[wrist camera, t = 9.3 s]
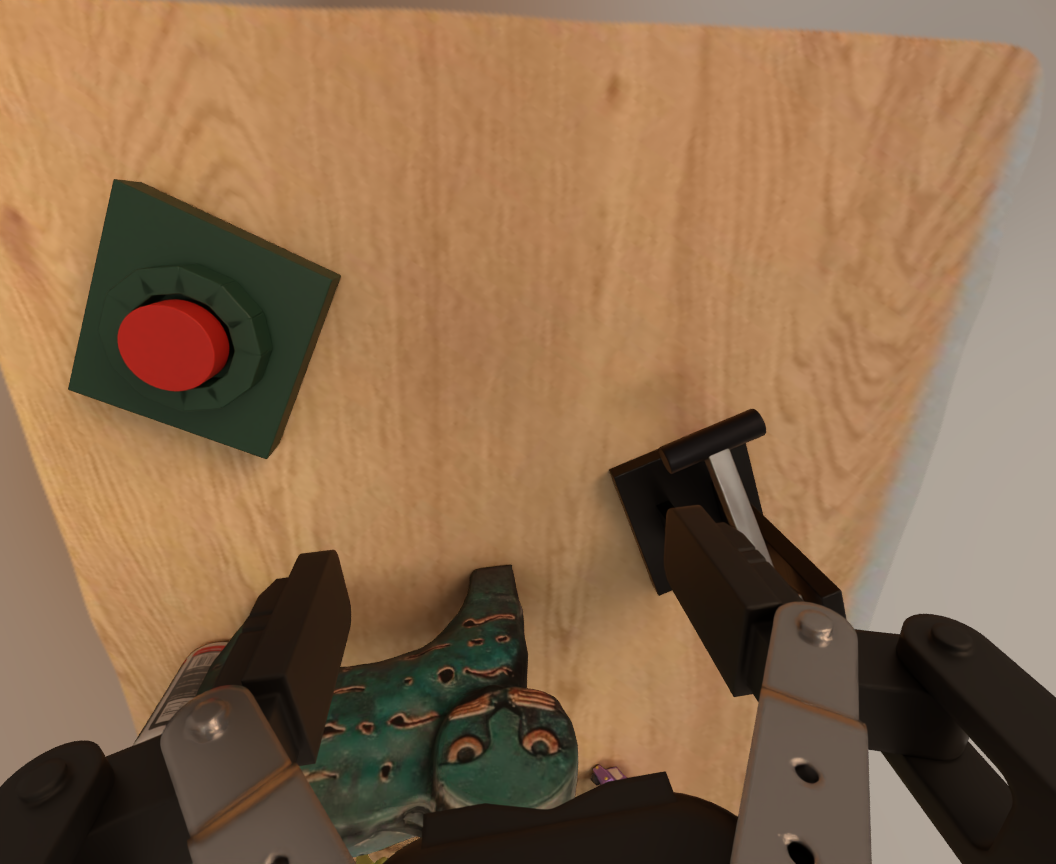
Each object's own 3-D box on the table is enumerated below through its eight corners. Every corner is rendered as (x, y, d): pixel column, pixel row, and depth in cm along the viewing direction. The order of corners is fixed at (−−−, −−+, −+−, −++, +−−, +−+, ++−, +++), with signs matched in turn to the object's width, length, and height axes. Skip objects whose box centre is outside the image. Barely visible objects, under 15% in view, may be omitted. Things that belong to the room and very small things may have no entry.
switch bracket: (608, 469, 35) (685, 597, 23) (732, 417, 34) (875, 519, 23) (653, 585, 39) (737, 743, 27) (763, 540, 39) (896, 679, 27)
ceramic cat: (535, 548, 36) (614, 884, 18) (537, 619, 39) (609, 976, 20) (242, 578, 34) (-6, 992, 16) (264, 651, 37) (73, 1081, 18)
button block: (140, 181, 25) (86, 175, 21) (341, 275, 28) (323, 284, 24) (95, 377, 28) (40, 401, 25) (279, 444, 31) (255, 474, 27)
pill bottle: (235, 708, 38) (166, 860, 29) (167, 671, 36) (70, 821, 27) (287, 666, 38) (233, 808, 28) (220, 624, 35) (139, 764, 26)
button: (150, 284, 24) (127, 288, 22) (240, 321, 25) (225, 328, 23) (130, 360, 25) (108, 370, 23) (217, 393, 26) (201, 404, 24)
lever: (653, 444, 27) (666, 451, 24) (743, 406, 26) (765, 410, 24) (733, 644, 28) (753, 670, 26) (818, 610, 28) (846, 632, 25)
